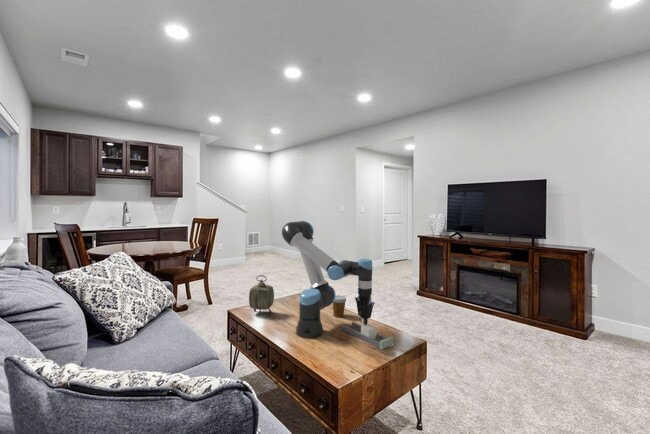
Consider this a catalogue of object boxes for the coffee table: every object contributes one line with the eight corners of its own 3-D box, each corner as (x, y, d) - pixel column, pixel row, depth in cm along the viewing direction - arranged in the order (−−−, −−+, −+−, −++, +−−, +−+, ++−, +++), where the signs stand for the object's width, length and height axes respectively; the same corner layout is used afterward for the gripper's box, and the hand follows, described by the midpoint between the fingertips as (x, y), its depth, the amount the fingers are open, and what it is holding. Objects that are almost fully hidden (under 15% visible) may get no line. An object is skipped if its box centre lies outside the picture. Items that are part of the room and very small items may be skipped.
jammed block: (368, 341, 166) (369, 330, 166) (360, 337, 171) (361, 326, 171) (376, 338, 170) (376, 327, 170) (368, 334, 175) (368, 323, 174)
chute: (381, 349, 157) (382, 342, 157) (341, 329, 181) (342, 322, 181) (393, 345, 163) (393, 337, 162) (352, 325, 187) (353, 319, 186)
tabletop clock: (273, 311, 207) (274, 274, 206) (269, 316, 198) (269, 277, 197) (252, 310, 209) (253, 273, 208) (247, 315, 200) (247, 276, 199)
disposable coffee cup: (335, 312, 209) (336, 294, 209) (348, 314, 204) (348, 296, 204) (328, 316, 201) (328, 298, 200) (341, 319, 196) (342, 300, 196)
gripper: (378, 289, 169) (377, 331, 171) (361, 283, 180) (360, 324, 181) (368, 291, 165) (367, 335, 166) (351, 285, 175) (350, 327, 176)
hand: (363, 329), depth 173 cm, fingers closed
